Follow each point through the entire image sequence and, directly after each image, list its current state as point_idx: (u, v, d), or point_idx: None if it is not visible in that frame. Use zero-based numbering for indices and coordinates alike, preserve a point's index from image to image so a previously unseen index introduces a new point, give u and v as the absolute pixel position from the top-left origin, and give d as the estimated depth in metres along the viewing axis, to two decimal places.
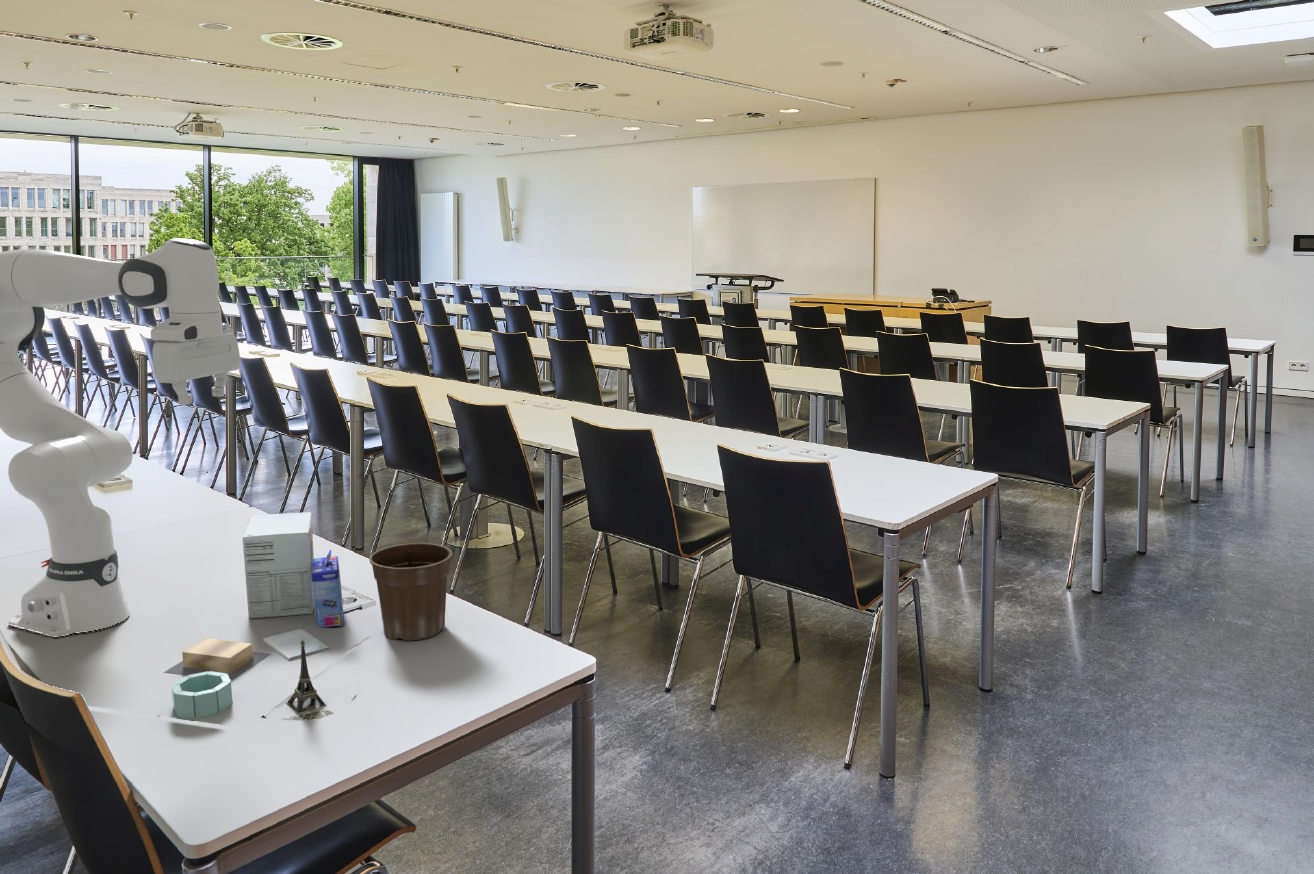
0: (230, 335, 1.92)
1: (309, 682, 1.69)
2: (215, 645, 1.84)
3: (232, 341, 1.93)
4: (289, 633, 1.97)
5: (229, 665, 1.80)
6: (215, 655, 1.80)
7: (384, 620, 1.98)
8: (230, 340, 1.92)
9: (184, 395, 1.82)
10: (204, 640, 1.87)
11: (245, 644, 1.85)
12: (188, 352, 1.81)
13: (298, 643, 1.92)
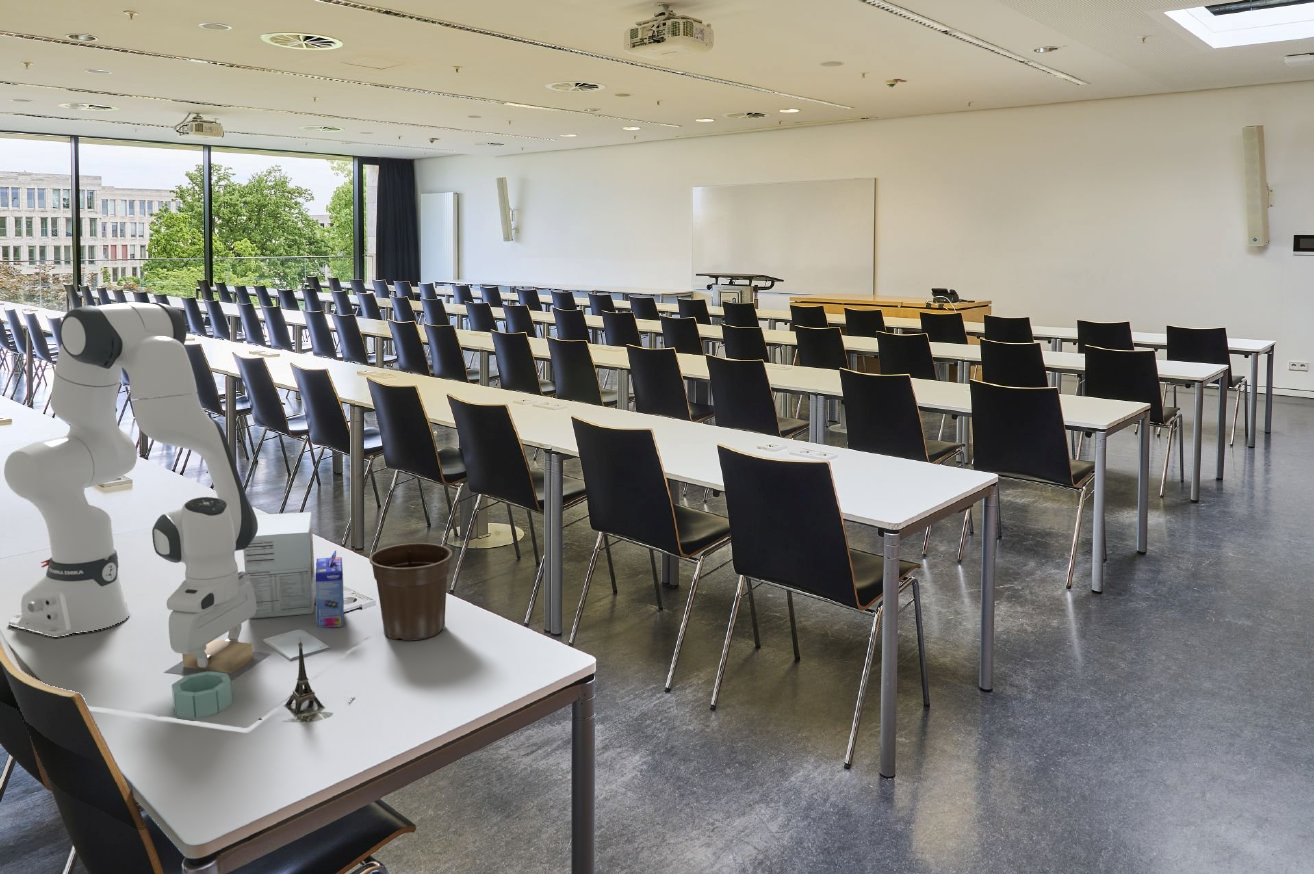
0: (246, 585, 1.88)
1: (307, 684, 1.68)
2: (215, 645, 1.84)
3: (249, 590, 1.89)
4: (289, 633, 1.97)
5: (229, 665, 1.80)
6: (215, 655, 1.80)
7: (384, 620, 1.98)
8: (247, 589, 1.88)
9: (203, 658, 1.79)
10: None
11: (245, 644, 1.85)
12: (205, 618, 1.77)
13: None
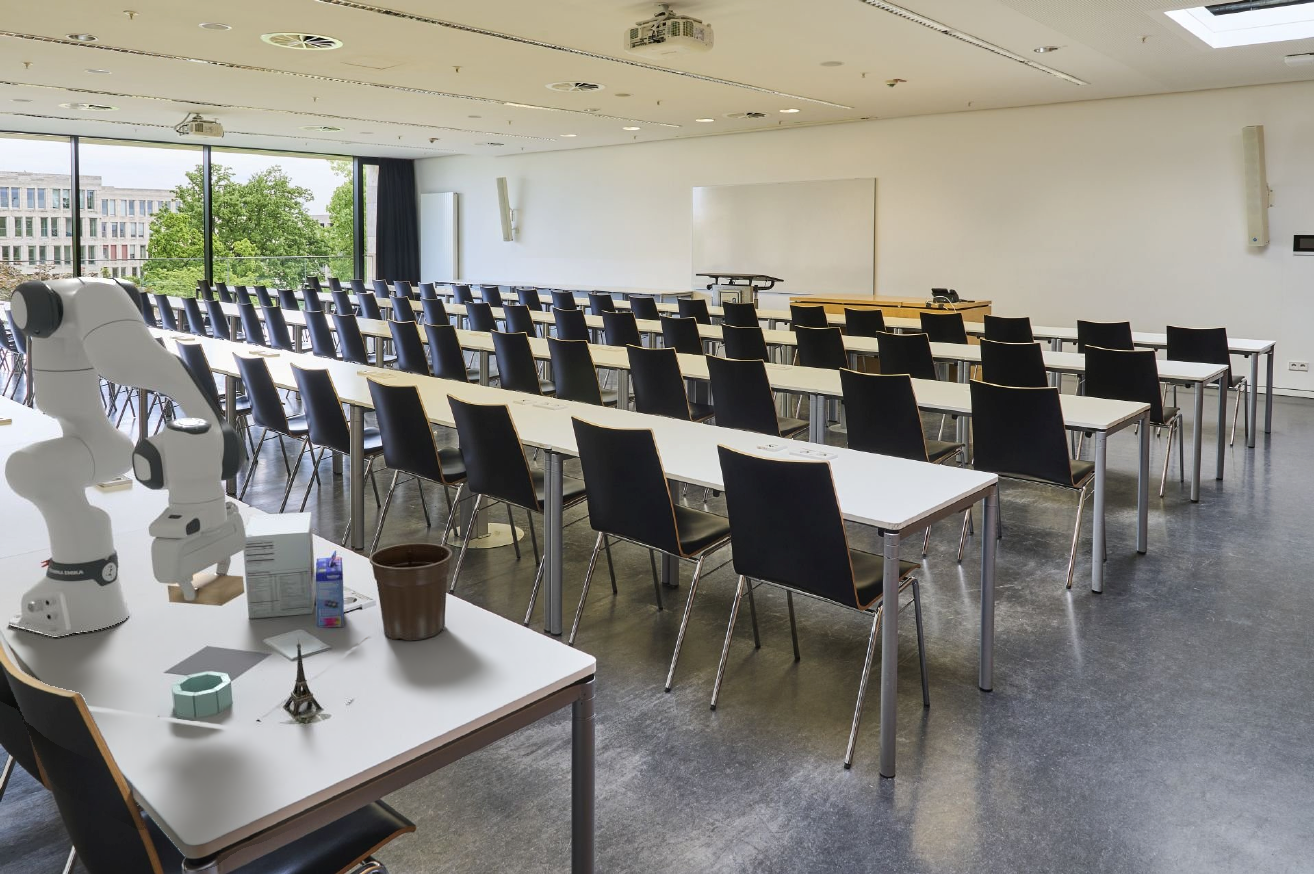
0: (235, 515, 1.76)
1: (305, 685, 1.68)
2: (203, 579, 1.72)
3: (237, 521, 1.76)
4: (289, 633, 1.97)
5: (219, 597, 1.67)
6: (204, 587, 1.68)
7: (384, 620, 1.98)
8: (235, 520, 1.76)
9: (190, 590, 1.66)
10: None
11: (235, 577, 1.73)
12: (191, 546, 1.65)
13: (299, 643, 1.92)
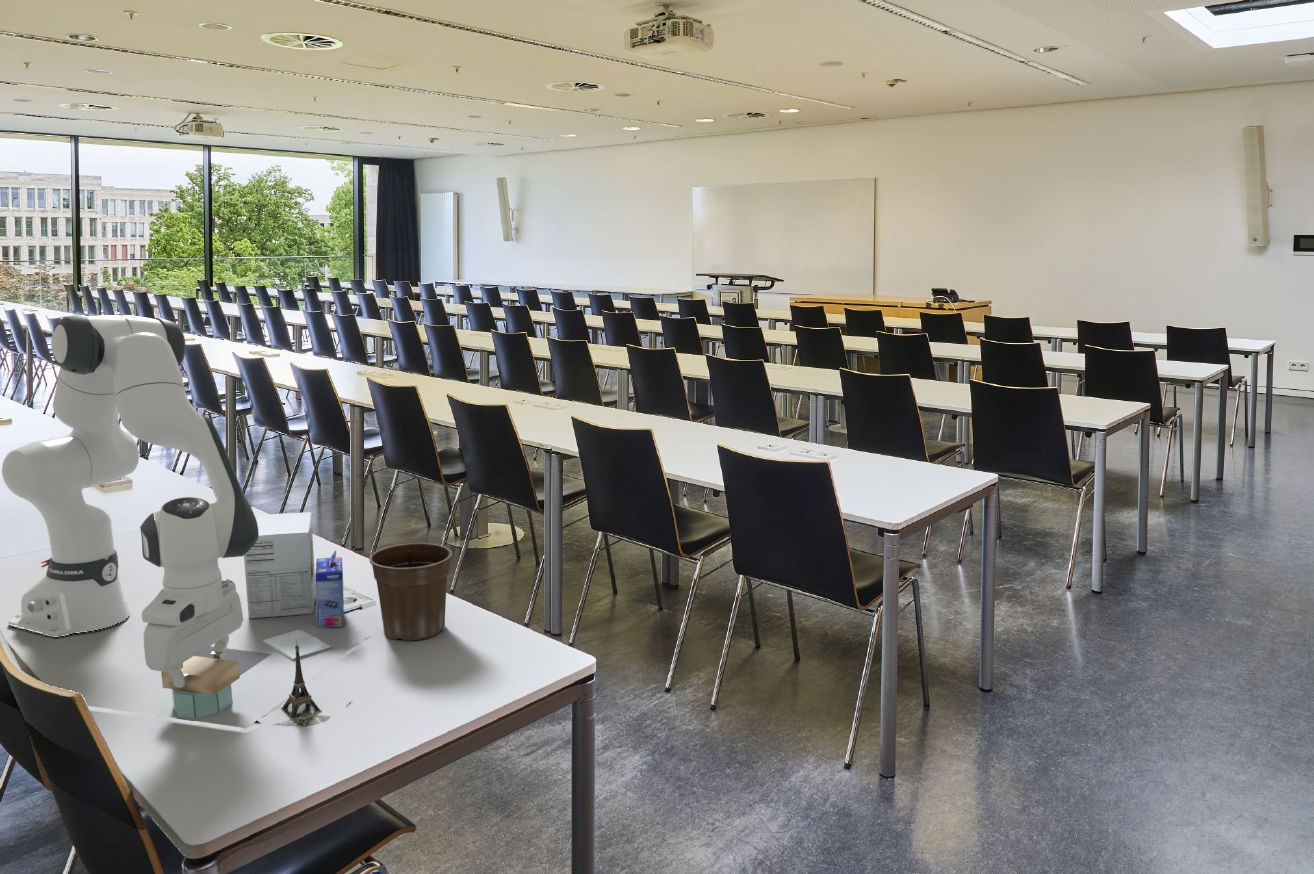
0: (231, 594, 1.71)
1: (304, 687, 1.67)
2: (198, 664, 1.68)
3: (234, 599, 1.72)
4: (289, 633, 1.97)
5: (213, 686, 1.63)
6: (198, 675, 1.64)
7: (384, 620, 1.98)
8: (232, 599, 1.71)
9: (180, 677, 1.61)
10: None
11: (231, 662, 1.69)
12: (184, 631, 1.60)
13: (300, 643, 1.92)
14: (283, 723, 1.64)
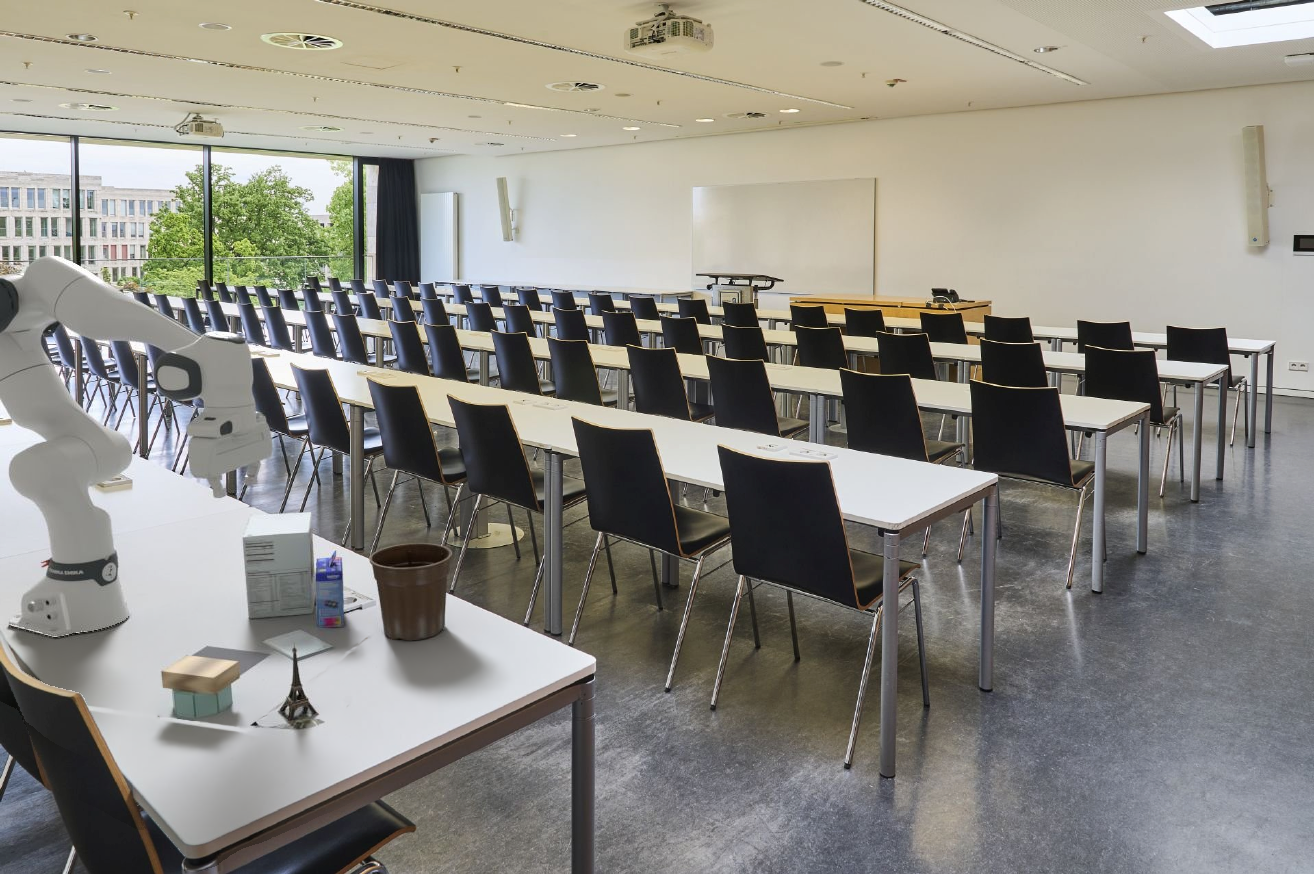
0: (263, 424, 1.92)
1: (301, 690, 1.66)
2: (198, 664, 1.68)
3: (265, 429, 1.93)
4: (289, 634, 1.97)
5: (213, 686, 1.63)
6: (198, 675, 1.64)
7: (384, 620, 1.98)
8: (263, 429, 1.92)
9: (219, 489, 1.82)
10: (186, 658, 1.70)
11: (231, 662, 1.69)
12: (223, 446, 1.81)
13: (301, 643, 1.92)
14: (280, 726, 1.63)
